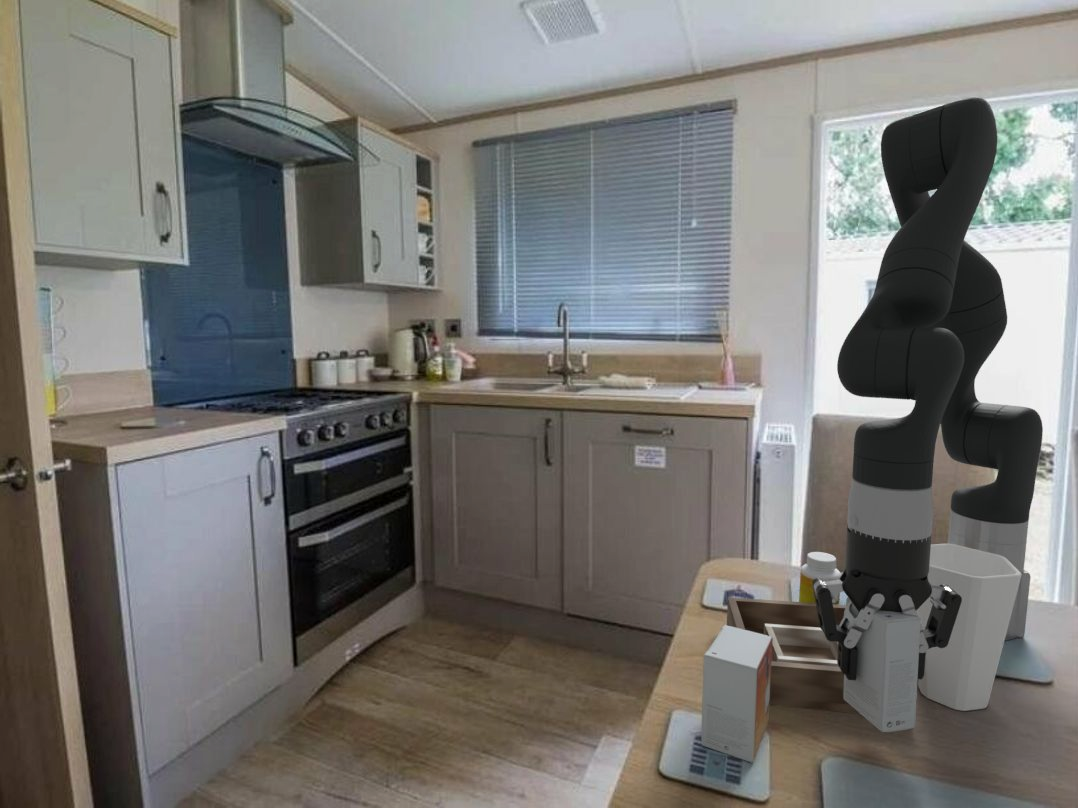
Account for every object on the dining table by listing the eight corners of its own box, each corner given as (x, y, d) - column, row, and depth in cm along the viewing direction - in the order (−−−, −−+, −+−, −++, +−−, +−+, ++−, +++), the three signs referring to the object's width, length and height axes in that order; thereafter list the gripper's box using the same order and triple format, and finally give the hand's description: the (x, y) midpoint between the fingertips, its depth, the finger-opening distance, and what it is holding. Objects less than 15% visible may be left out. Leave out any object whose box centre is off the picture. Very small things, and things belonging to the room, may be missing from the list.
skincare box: (917, 729, 63) (927, 617, 62) (879, 735, 62) (888, 622, 61) (872, 693, 69) (881, 591, 68) (838, 698, 68) (845, 595, 67)
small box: (753, 765, 63) (757, 669, 62) (699, 746, 66) (702, 654, 65) (770, 722, 70) (774, 635, 69) (720, 706, 73) (723, 622, 72)
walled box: (857, 639, 88) (859, 606, 88) (909, 718, 71) (913, 677, 70) (726, 629, 91) (727, 597, 91) (746, 702, 74) (747, 663, 73)
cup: (1018, 730, 68) (1033, 584, 66) (913, 711, 72) (924, 571, 70) (985, 676, 79) (997, 548, 76) (894, 662, 82) (904, 539, 80)
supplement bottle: (824, 633, 90) (828, 566, 89) (790, 618, 94) (793, 554, 93) (845, 623, 93) (849, 558, 92) (811, 609, 98) (815, 546, 96)
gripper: (947, 515, 65) (936, 663, 68) (804, 510, 68) (798, 654, 70) (986, 540, 58) (972, 705, 60) (824, 534, 60) (816, 694, 63)
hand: (878, 677), depth 65 cm, fingers closed on skincare box, 5 cm apart
